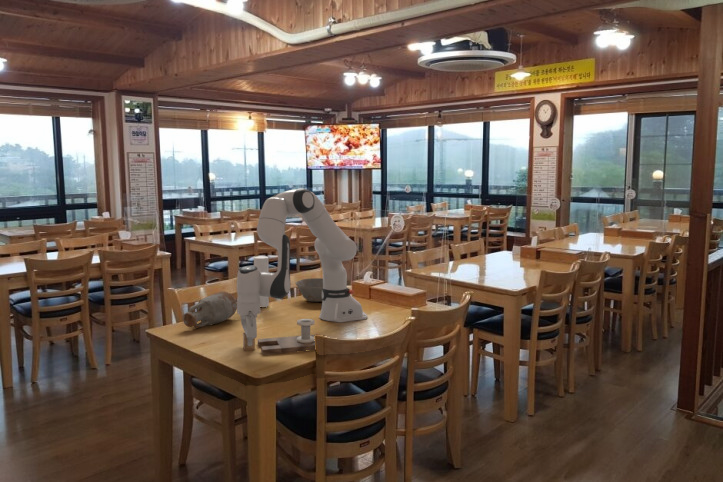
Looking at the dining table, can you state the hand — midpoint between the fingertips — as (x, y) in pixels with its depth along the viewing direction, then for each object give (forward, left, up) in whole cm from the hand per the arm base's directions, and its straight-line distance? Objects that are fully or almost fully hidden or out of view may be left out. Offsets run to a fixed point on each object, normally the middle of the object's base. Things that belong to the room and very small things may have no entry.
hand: (249, 343), depth 224 cm
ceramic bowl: (-44, -71, -2) cm, 84 cm away
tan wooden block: (0, 0, -2) cm, 2 cm away
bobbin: (-22, +2, 0) cm, 22 cm away
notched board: (-16, +2, -2) cm, 16 cm away
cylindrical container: (-14, -66, -2) cm, 68 cm away
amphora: (+11, -41, -2) cm, 43 cm away
